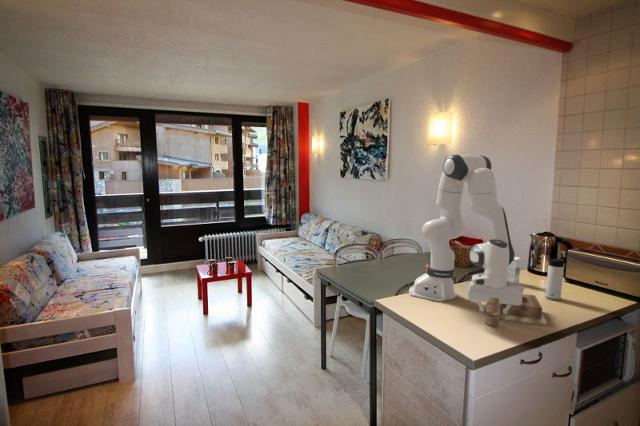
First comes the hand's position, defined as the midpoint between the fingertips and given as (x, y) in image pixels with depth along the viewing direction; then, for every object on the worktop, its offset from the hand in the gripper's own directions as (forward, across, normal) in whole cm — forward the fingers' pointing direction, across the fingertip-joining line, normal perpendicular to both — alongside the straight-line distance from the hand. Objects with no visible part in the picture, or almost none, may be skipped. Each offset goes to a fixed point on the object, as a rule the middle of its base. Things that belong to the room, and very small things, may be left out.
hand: (492, 312), depth 151 cm
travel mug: (+6, -31, -41) cm, 52 cm away
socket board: (+5, -12, -16) cm, 21 cm away
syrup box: (+6, -15, -59) cm, 61 cm away
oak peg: (+5, 0, 0) cm, 5 cm away
